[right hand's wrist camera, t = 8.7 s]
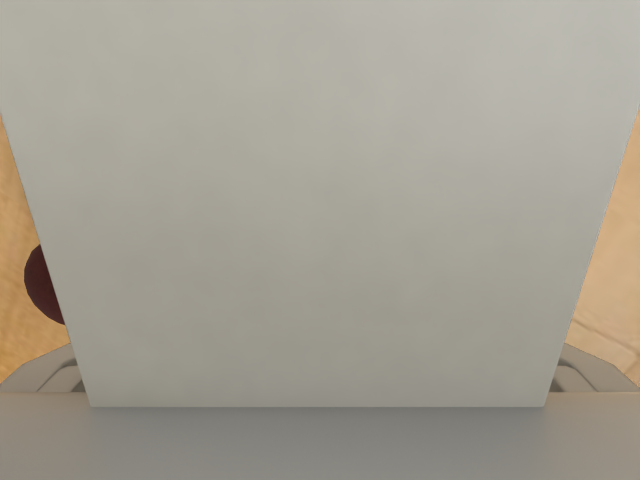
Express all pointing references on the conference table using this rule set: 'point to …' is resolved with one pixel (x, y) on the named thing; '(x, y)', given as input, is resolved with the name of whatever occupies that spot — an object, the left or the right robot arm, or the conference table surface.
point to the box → (318, 191)
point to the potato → (41, 286)
